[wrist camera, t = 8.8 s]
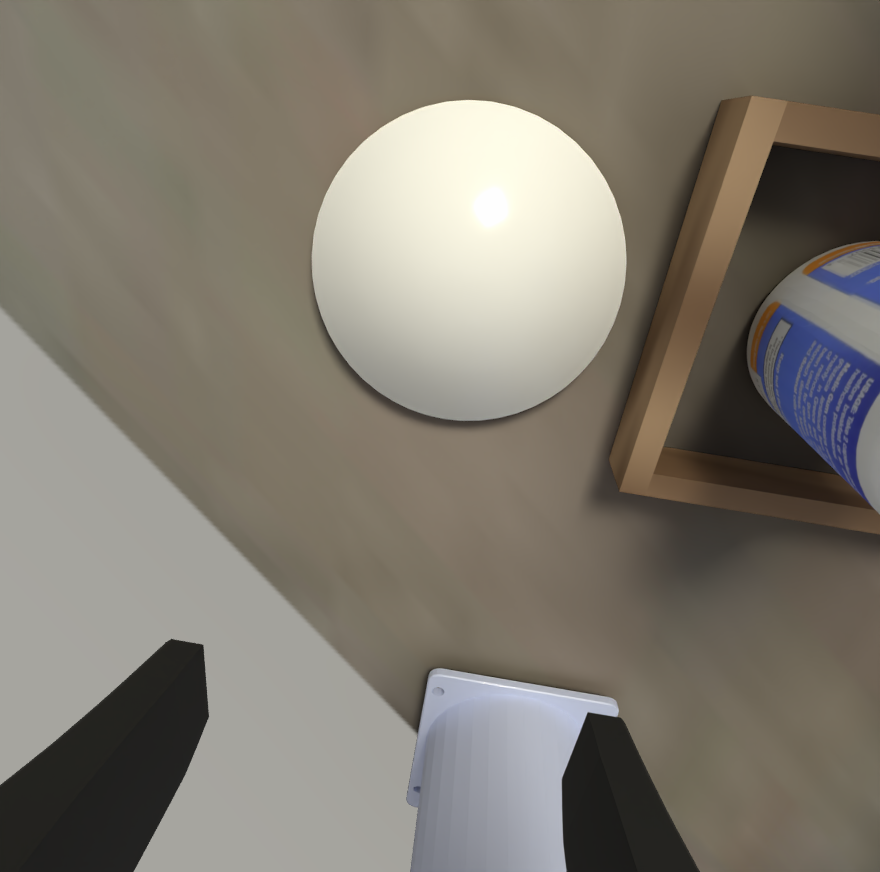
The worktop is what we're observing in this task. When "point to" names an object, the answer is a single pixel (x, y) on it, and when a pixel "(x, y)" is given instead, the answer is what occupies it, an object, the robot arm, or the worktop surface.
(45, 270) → the worktop surface
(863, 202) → the worktop surface
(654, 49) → the worktop surface
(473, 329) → the white disc
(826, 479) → the socket block
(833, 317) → the pill bottle
